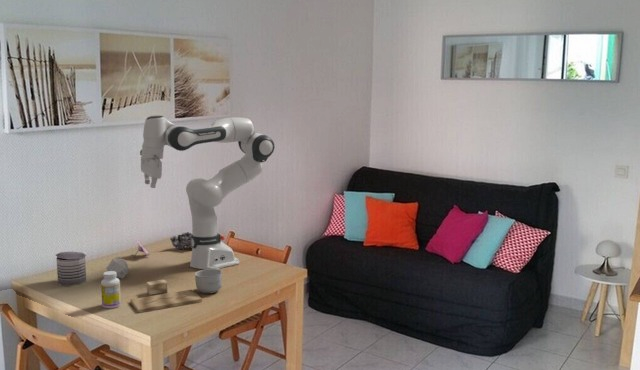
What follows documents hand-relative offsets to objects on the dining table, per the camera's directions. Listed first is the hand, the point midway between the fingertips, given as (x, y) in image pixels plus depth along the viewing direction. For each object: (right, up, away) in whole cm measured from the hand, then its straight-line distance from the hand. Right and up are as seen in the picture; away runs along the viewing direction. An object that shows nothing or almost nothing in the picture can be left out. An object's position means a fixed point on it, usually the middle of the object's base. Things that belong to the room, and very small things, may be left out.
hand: (149, 185), depth 270 cm
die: (-13, -39, 0) cm, 41 cm away
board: (+14, -44, -29) cm, 55 cm away
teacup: (+29, -42, -14) cm, 53 cm away
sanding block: (+8, -43, -19) cm, 47 cm away
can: (-31, -40, -6) cm, 51 cm away
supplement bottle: (-5, -45, -33) cm, 56 cm away
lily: (-12, -34, +31) cm, 47 cm away
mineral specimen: (+7, -32, +45) cm, 55 cm away
